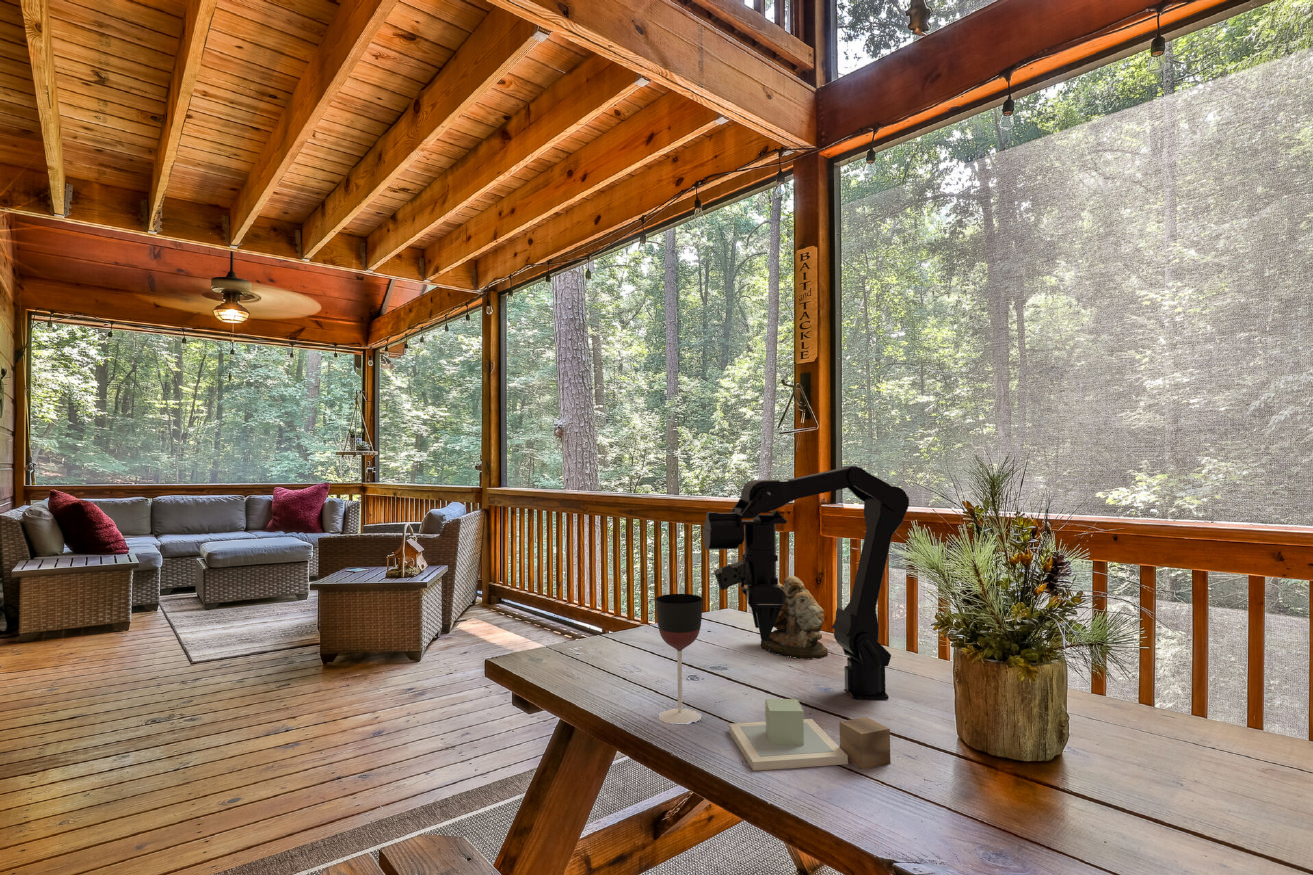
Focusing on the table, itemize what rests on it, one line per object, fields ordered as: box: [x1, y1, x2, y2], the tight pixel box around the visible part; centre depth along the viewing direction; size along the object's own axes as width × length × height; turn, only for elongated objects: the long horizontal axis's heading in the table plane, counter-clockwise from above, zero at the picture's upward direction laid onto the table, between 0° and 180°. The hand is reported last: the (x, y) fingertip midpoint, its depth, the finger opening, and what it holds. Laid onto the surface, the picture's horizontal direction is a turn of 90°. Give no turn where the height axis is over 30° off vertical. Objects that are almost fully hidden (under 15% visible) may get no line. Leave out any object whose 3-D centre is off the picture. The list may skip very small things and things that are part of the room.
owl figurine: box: [760, 575, 829, 659], centre depth 155 cm, size 18×12×17 cm, turn 45°
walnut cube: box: [838, 716, 892, 771], centre depth 97 cm, size 5×5×5 cm
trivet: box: [728, 718, 849, 772], centre depth 101 cm, size 14×14×1 cm
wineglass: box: [655, 593, 703, 724], centre depth 114 cm, size 8×9×20 cm
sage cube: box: [764, 698, 804, 745], centre depth 101 cm, size 5×5×5 cm
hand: (761, 634), depth 121 cm, fingers open, 9 cm apart
